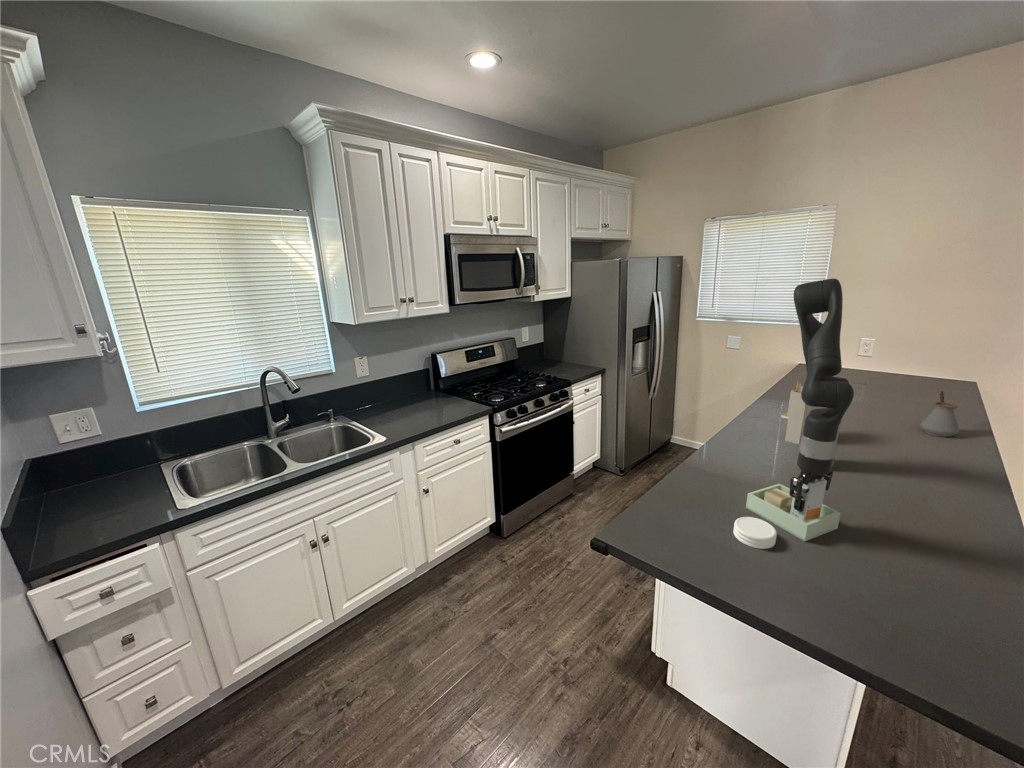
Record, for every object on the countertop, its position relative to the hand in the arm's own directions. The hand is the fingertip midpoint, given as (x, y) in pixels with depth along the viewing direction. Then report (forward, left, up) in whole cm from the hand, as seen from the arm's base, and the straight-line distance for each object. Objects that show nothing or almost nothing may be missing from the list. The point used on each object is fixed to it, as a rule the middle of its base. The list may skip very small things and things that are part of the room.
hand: (806, 507), depth 113 cm
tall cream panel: (-57, -41, -6) cm, 70 cm away
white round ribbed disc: (+17, -2, -6) cm, 18 cm away
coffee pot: (-116, -21, -6) cm, 118 cm away
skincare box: (0, 0, -3) cm, 3 cm away
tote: (0, -4, -6) cm, 7 cm away
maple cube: (0, -8, -5) cm, 9 cm away
